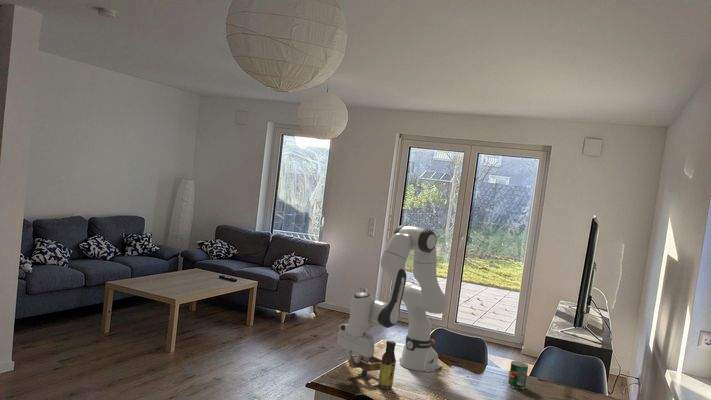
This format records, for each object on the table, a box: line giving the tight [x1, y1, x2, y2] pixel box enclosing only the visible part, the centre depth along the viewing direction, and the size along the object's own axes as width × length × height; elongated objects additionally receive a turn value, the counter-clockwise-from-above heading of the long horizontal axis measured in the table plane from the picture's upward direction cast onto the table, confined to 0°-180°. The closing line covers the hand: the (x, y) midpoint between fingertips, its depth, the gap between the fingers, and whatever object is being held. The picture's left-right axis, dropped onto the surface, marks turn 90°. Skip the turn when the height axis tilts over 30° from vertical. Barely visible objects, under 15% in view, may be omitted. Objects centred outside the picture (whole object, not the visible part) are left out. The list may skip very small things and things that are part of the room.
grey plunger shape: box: [356, 356, 371, 380], centre depth 252 cm, size 6×6×12 cm
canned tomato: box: [507, 360, 529, 388], centre depth 268 cm, size 8×8×11 cm
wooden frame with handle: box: [347, 354, 382, 372], centre depth 252 cm, size 16×12×4 cm
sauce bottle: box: [377, 340, 397, 390], centre depth 243 cm, size 7×6×20 cm
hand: (353, 361), depth 247 cm, fingers closed on wooden frame with handle, 2 cm apart
